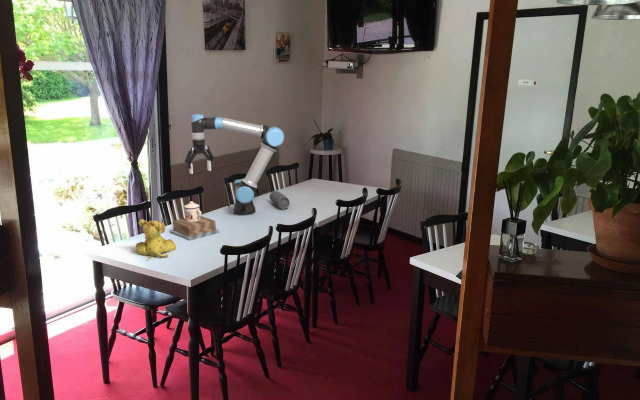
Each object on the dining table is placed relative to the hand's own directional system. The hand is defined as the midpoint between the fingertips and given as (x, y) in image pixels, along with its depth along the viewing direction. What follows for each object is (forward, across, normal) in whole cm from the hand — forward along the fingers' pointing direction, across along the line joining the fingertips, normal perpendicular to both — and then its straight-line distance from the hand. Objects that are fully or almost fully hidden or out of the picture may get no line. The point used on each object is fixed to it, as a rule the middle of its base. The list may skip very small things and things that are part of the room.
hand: (200, 172), depth 334 cm
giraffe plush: (+32, -54, -36) cm, 72 cm away
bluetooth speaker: (+32, +57, -11) cm, 66 cm away
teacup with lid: (+24, -20, -21) cm, 38 cm away
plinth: (+32, -20, -21) cm, 43 cm away
